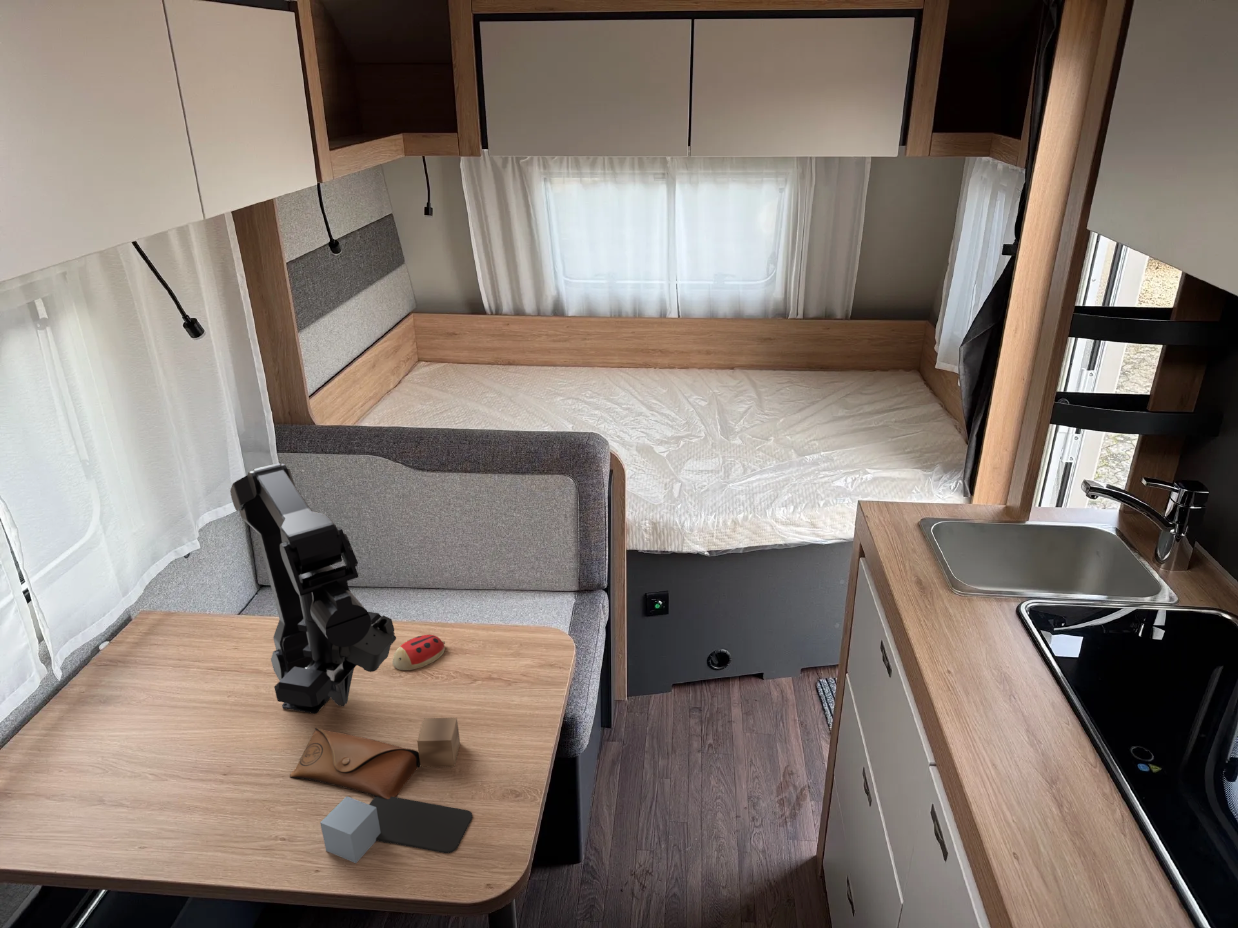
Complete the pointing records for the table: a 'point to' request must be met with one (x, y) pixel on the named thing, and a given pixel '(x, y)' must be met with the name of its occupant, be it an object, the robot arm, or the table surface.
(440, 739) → the walnut block
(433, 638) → the ladybug figurine
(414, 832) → the phone
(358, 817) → the slate block
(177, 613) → the table surface
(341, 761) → the sunglasses case
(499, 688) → the table surface
